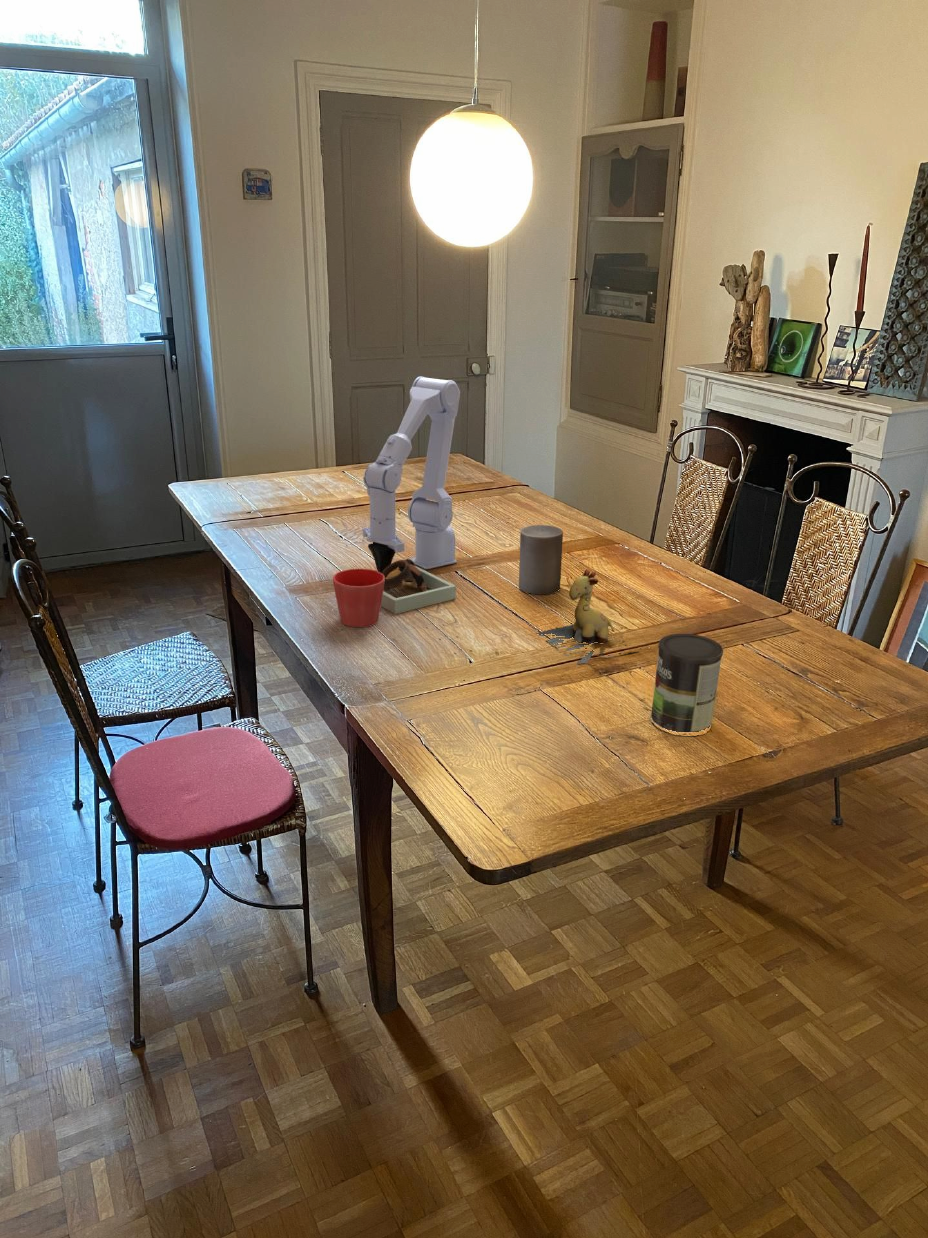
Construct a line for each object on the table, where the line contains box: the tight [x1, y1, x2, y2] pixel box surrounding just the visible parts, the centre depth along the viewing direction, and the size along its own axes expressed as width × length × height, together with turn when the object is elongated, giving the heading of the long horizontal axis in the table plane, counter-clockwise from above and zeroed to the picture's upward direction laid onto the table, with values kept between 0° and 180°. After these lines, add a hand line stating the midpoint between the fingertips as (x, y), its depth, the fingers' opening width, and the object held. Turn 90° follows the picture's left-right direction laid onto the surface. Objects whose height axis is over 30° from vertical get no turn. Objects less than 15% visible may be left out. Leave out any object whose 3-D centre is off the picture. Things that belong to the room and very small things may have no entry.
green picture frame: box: [381, 565, 457, 615], centre depth 210 cm, size 16×17×3 cm
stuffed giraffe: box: [535, 568, 615, 665], centre depth 186 cm, size 16×18×16 cm
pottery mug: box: [382, 558, 428, 592], centre depth 212 cm, size 12×10×8 cm
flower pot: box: [332, 568, 386, 628], centre depth 194 cm, size 11×11×10 cm
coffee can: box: [650, 633, 724, 732], centre depth 156 cm, size 10×10×14 cm
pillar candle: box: [518, 524, 564, 596], centre depth 213 cm, size 10×10×15 cm
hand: (383, 573), depth 216 cm, fingers closed
